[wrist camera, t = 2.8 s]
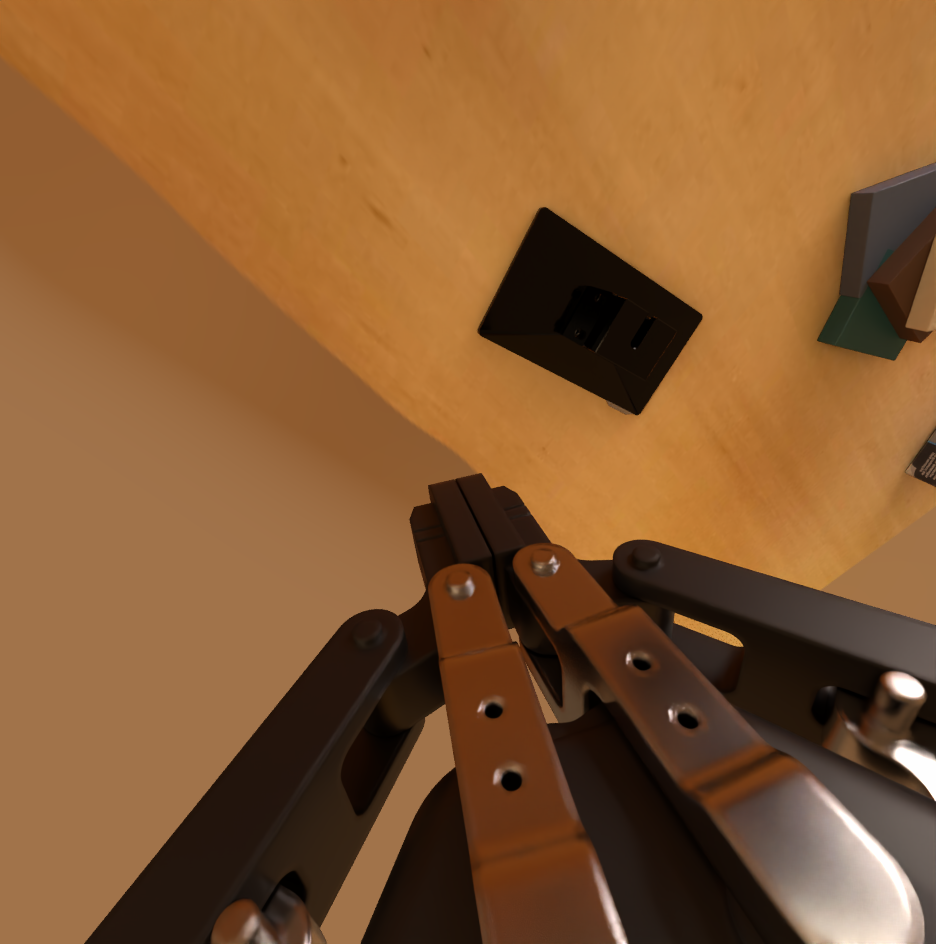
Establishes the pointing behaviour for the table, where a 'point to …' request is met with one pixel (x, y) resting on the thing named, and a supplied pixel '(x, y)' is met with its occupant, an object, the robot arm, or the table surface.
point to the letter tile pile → (888, 267)
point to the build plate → (587, 315)
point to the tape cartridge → (925, 463)
